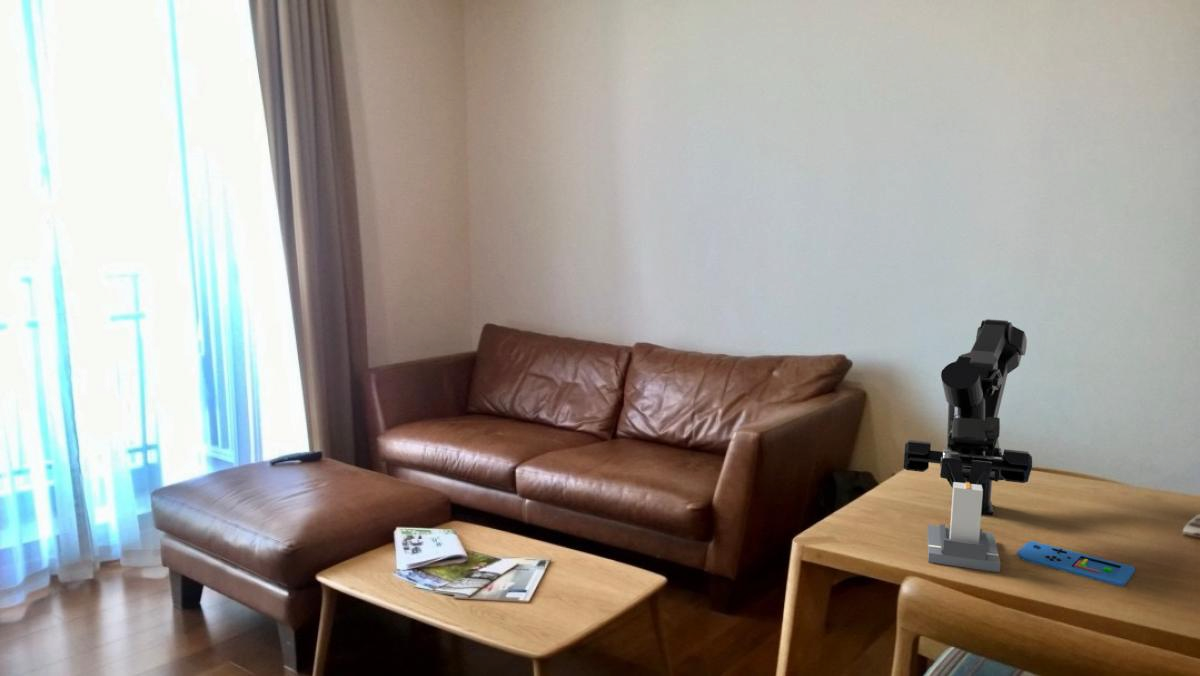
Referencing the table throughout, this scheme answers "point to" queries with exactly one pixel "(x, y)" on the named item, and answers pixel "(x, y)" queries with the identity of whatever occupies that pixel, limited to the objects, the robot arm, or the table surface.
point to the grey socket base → (962, 550)
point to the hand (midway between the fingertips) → (964, 508)
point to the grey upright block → (966, 512)
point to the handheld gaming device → (1076, 563)
